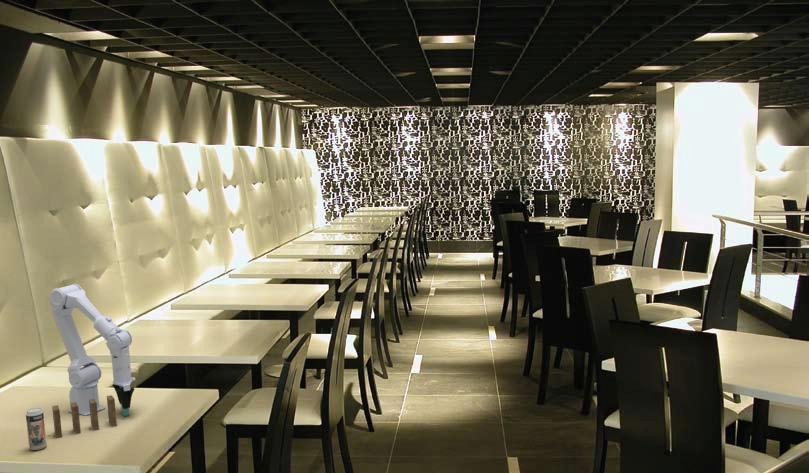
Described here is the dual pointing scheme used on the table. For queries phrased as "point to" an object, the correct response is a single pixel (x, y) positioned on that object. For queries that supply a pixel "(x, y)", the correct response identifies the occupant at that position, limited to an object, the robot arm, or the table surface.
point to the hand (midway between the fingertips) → (124, 406)
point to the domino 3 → (94, 414)
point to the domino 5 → (124, 411)
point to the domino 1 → (57, 421)
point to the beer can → (36, 429)
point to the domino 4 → (111, 411)
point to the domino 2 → (75, 418)
